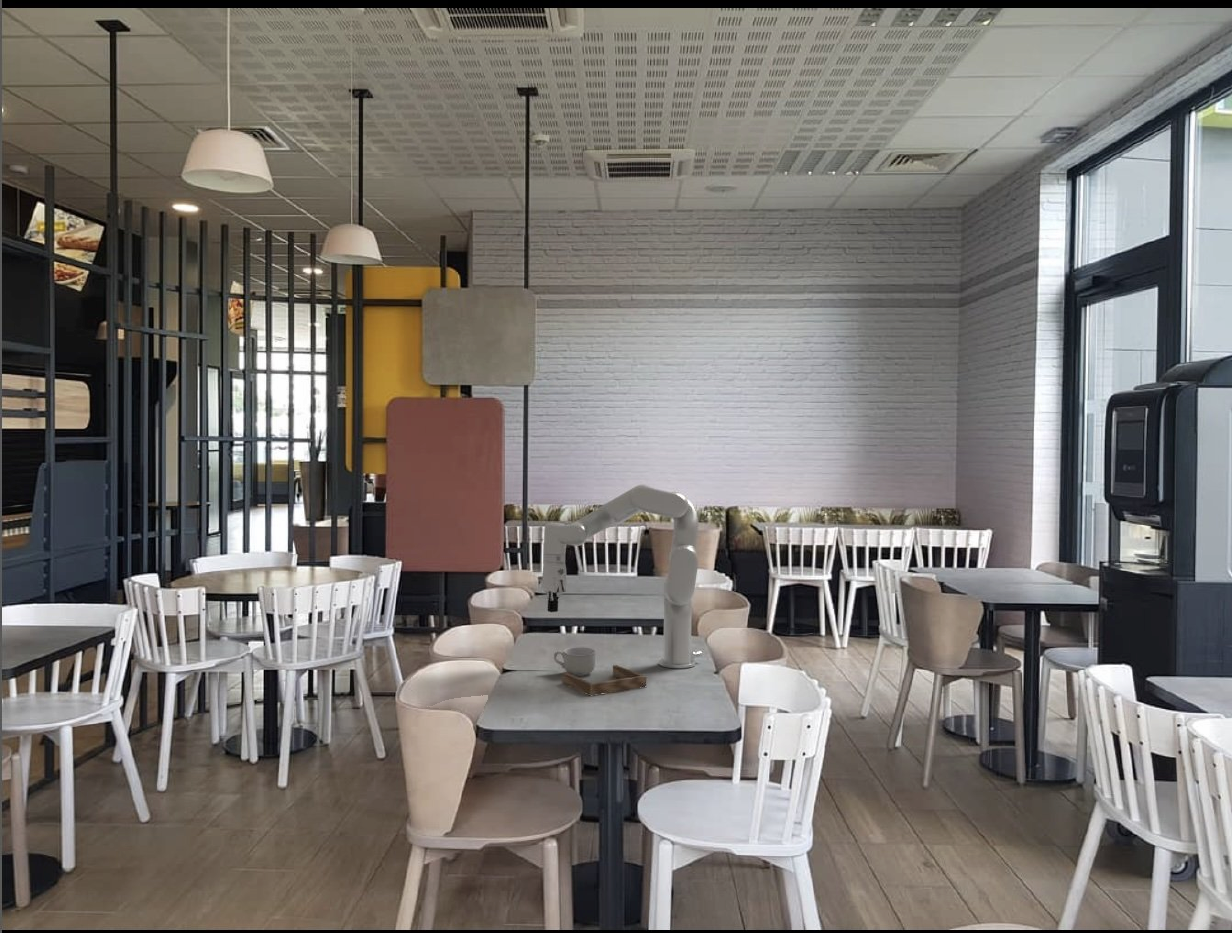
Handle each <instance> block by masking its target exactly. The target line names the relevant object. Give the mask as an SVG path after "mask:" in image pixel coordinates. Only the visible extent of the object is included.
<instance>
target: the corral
mask: <svg viewBox="0 0 1232 933" xmlns="http://www.w3.org/2000/svg"><path fill="white" fill-rule="evenodd" d="M612 677H615V678H616V677H617V679H612V680H605V681H599V682H590V681H588V680H586V679H583V678H581V677H579V676H573V675H571V674H569V672H567V671H566V672H561V679H562V680H561V684H562V683H563V684H562V685H564V684H565V686H566V687H569V686H570V687H569V688H571V687H572V688H571V689H574V690H576V691H578V692H581V693H583V694H585V693H587V694H590V695H595V694H601V693H607V694H612V693H611V692H614V693H619V692H618V691H620V692H625V691H624V690H626V691H631V690H630V689H633V690H636V689H635V688H639V689H641V688H640V687H645V686H646V687H647V675H644V674H641V673H639V672H636V671H634V670H630V669H627V668H625V667H622V666H619V665H617V664H614V665H612ZM646 687H645V688H646ZM587 694H586V695H587ZM590 695H589V696H590ZM601 695H602V694H601ZM595 696H596V695H595Z"/></svg>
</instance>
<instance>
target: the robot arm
mask: <svg viewBox="0 0 1232 933" xmlns="http://www.w3.org/2000/svg"><path fill="white" fill-rule="evenodd" d="M641 512H645V513H648V514H653V515H659V516H662V517H667V518H670V519H672V521H673V532H672V539H671V540H672V541H671V545H670V547H671V548H670V552H669V555H668V561H669V568H668V576H667V578H666V579H665V580H664V581H665V582H664V584H663V658H661V659H659V660H658V665H660V666H661V667H665V668H668V669H669V668H670V669H688V668H693V667H694V666H696V660H695V658H700V657H702V656H703V653H702V651H693V650H692V599H693V596H694V594H695V590H696V589H695V588H696V583H697V582H696V581H697V576H698V569H699V558H698V557H699V556H698V553H697V543H698V535H699V534H698V533H699V516H698V514H697V511H696V508H695V507H694V505H693V503H692V501H690V499H688V497H686V496H685V495H683V494H682V493H680V492H679V491H667V490H662V489H659V488H658V489H657V488H654V487H650V486H648V485H646V484H639V485H636V486H634V487H632V488H631V489H629V490H627V491H625V492H624V493H622V494H620V495H619V496H616V497H615V498H613V499H611V500H609V501H607V502H606V503H604V504H603V505H601V506H600V507H599V508H597V509H595V510H593V511H592V512H590V513H588V514H586V515H584V516H583V517H580V518H579V519H578V520H576V521H574V522H571V524H565V523H561V522H549V523H546V524H545V525H544V531H543V532H544V533H543V534H544V536H543V562H542V563H543V566H542V576H541V578H542V579H541V586H542V589H543V590H544V593H545V594H546V597H547V612H549V613H557V612H558V611H559V600H560V597H563V593H565V592H567V589H568V585H567V584H568V580H567V579H568V578H567V577H568V576H567V566H566V553H567V552H566V549H567V548H566V547H567V546H566V545H568V546H576V547H578V546H583V545H584V544H585V543H586V542H587V540H588V539H589V538H592V537H593V536H595V535H596V534H598V533H600V532H602V531H604V530H607V529H609V528H614V527H617V526H618V525H620V524H622V523H624V522H625V521H627V520H629V519H630V518H633V517H634V516H636V515H638V514H639V513H641Z"/></svg>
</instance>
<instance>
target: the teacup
mask: <svg viewBox="0 0 1232 933" xmlns="http://www.w3.org/2000/svg"><path fill="white" fill-rule="evenodd" d="M596 652H597V650H596V649H594V648H591V647H586V646H571V647H568V648H565V649H564V650H563V651H562V650H557V651H555V652H554V654H553V660H554V661H555V662H556V663H557V664H559V665H560V666H561V668H563V669H565V671H566V673H569V674H571V675H573V676H576V677H585V675H586V676H588V675H589V674H591V673H592V672H593V671H594V670H595V668H596V667H595V666H596ZM558 655H561V656H562V659H563V662H562V661H560V660H559V659H558Z"/></svg>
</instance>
